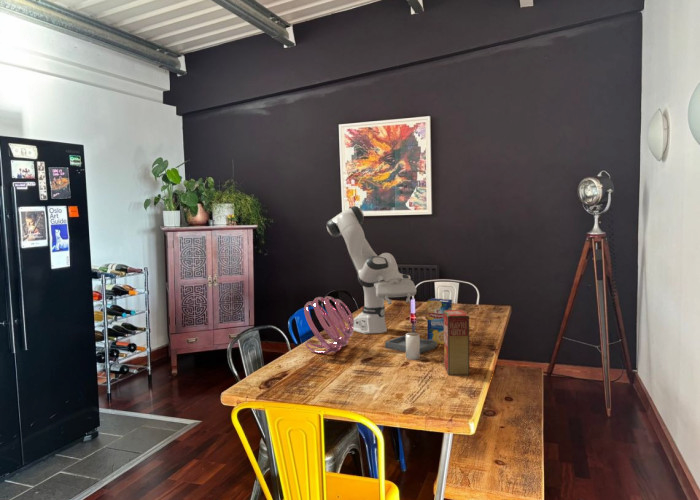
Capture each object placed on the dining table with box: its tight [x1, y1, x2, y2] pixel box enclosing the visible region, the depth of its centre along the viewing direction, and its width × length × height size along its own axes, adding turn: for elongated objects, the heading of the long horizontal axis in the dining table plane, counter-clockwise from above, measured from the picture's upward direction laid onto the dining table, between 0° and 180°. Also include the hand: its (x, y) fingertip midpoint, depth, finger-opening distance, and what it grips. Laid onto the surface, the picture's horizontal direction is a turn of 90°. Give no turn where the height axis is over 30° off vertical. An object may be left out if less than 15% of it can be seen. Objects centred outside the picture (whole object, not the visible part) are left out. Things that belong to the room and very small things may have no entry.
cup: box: [405, 332, 421, 361], centre depth 240 cm, size 6×6×11 cm
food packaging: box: [443, 309, 470, 376], centre depth 219 cm, size 13×9×25 cm
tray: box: [384, 335, 438, 355], centre depth 257 cm, size 20×16×3 cm
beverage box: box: [426, 297, 453, 345], centre depth 266 cm, size 7×11×22 cm, turn 62°
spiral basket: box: [303, 295, 354, 355], centre depth 253 cm, size 28×28×27 cm
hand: (399, 303), depth 251 cm, fingers open, 8 cm apart
